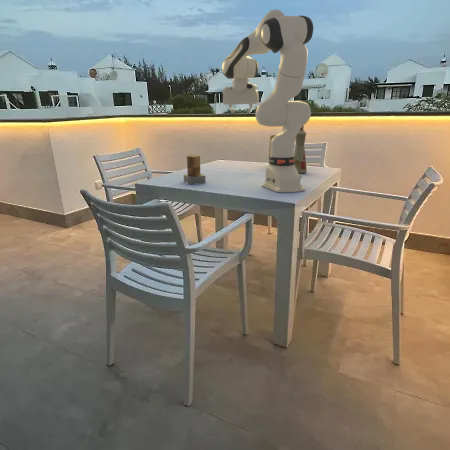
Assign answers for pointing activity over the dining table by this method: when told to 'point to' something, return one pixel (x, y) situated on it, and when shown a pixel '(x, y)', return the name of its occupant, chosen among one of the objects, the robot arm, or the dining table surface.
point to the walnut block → (193, 165)
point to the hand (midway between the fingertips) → (240, 112)
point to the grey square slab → (194, 179)
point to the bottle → (300, 152)
